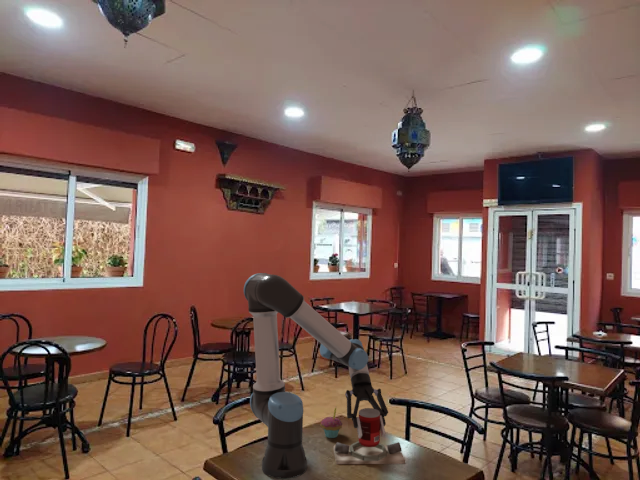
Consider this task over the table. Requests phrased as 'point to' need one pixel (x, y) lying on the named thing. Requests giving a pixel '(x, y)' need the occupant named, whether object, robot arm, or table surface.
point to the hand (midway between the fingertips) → (372, 435)
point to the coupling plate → (368, 454)
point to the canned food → (369, 427)
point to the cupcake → (331, 426)
